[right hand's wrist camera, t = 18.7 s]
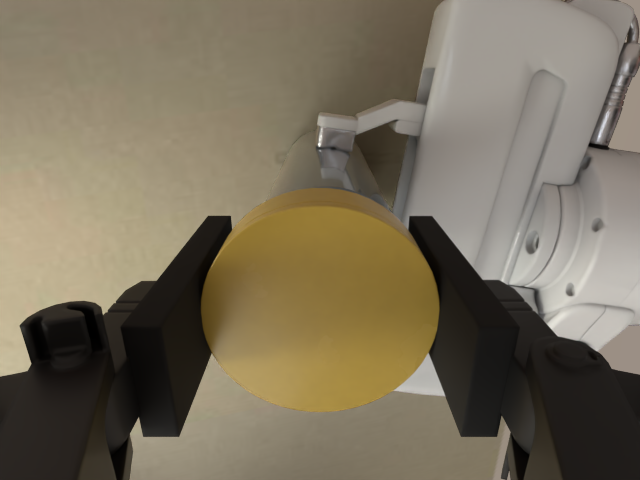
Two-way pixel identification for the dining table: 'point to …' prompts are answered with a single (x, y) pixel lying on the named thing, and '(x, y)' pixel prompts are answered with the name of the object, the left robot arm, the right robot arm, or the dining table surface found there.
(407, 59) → the dining table surface
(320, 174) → the jar
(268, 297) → the lid
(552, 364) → the right robot arm
